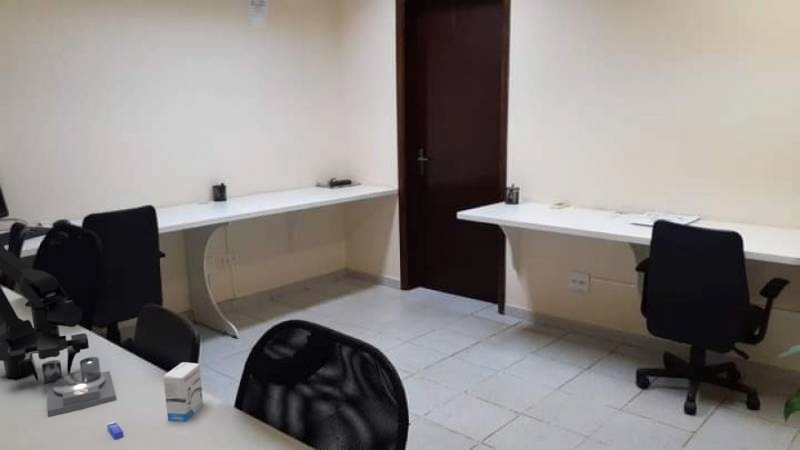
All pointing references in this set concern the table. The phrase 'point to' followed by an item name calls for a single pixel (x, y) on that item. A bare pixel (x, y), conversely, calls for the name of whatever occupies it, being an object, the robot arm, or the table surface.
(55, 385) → the scale pan
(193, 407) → the ink box
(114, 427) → the eraser
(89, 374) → the cylinder
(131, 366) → the table surface
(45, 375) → the cylinder
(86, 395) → the scale
